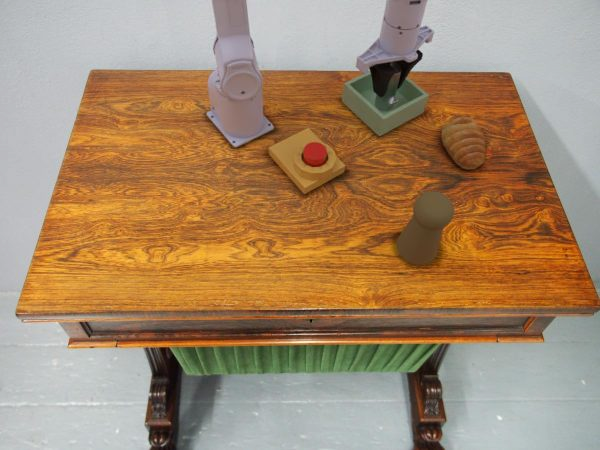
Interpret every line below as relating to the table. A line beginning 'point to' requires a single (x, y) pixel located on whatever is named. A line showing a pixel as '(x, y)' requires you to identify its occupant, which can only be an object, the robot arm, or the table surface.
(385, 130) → the green square tray
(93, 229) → the table surface
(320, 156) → the button
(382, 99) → the tall narrow cylinder
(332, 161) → the panel
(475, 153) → the pastry
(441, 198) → the olive brown pawn
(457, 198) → the table surface
